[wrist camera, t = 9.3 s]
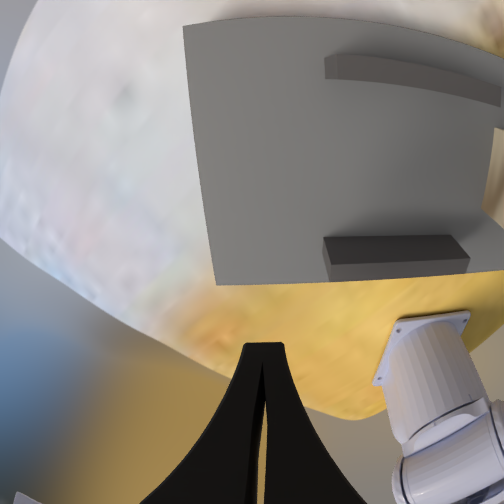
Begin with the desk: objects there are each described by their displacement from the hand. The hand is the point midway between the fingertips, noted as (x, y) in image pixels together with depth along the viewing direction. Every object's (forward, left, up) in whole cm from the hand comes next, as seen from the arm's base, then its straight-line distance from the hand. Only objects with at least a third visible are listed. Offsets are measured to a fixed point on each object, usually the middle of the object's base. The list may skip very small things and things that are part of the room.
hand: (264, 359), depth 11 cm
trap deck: (+5, -12, -9) cm, 16 cm away
